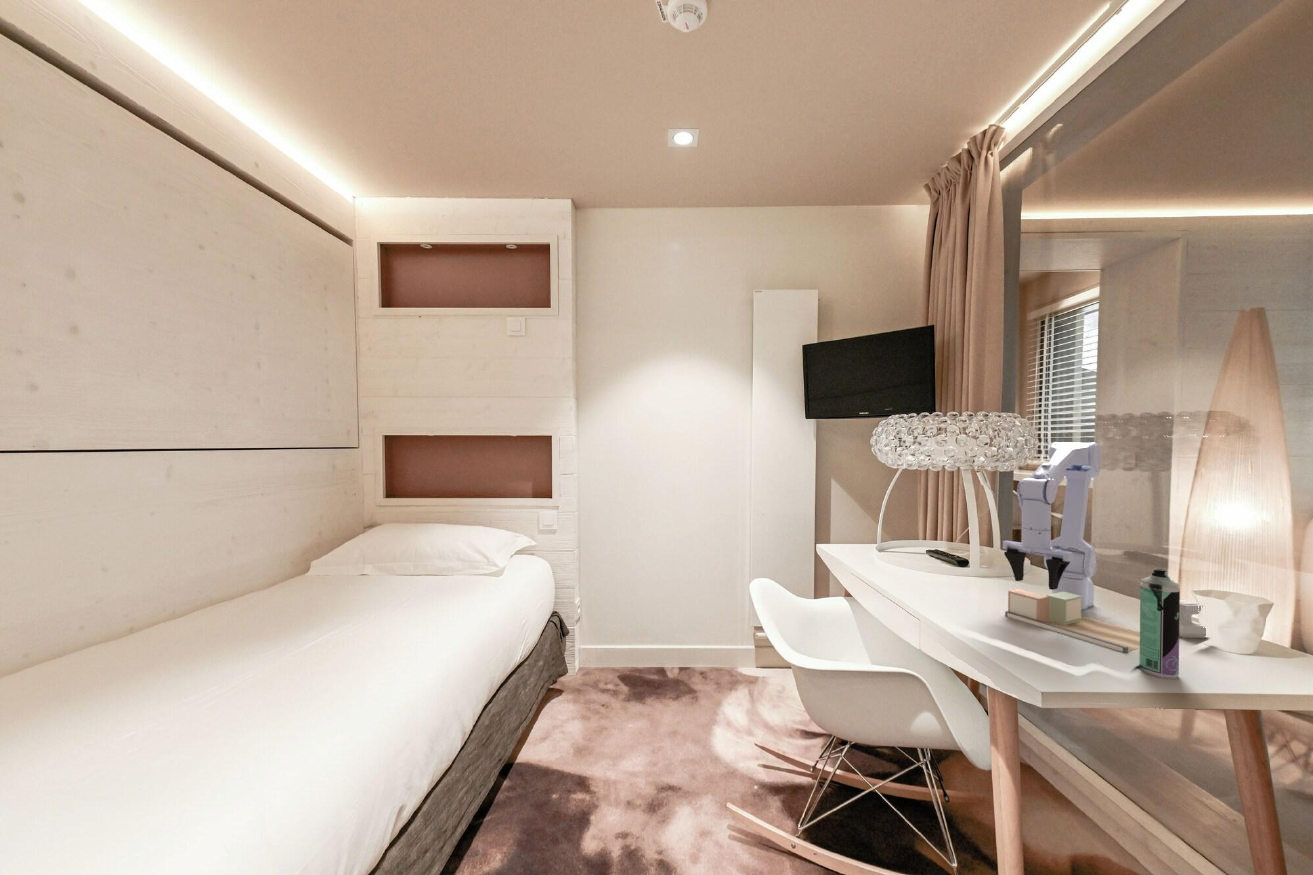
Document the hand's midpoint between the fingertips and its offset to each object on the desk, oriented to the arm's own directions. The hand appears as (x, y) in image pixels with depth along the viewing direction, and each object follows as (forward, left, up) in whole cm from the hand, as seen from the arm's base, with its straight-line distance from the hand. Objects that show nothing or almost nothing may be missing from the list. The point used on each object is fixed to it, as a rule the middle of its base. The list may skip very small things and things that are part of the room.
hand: (1035, 584), depth 125 cm
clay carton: (0, -2, -9) cm, 9 cm away
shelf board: (-5, +7, -10) cm, 13 cm away
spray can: (+5, +25, -10) cm, 27 cm away
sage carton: (-6, +3, -9) cm, 11 cm away
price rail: (+3, +7, -10) cm, 12 cm away
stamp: (-22, +19, -10) cm, 31 cm away
